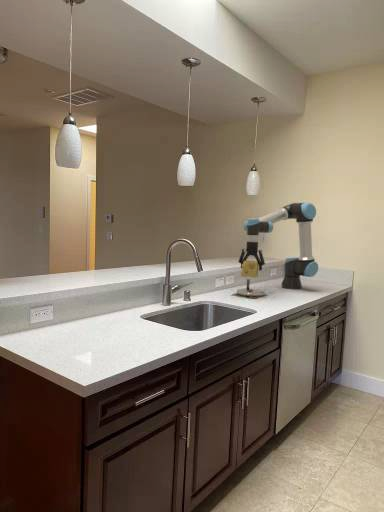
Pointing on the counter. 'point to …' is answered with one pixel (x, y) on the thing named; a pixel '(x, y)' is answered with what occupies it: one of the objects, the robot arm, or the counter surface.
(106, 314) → the counter surface
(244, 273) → the cheese
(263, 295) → the base plate
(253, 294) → the metal dish with post
